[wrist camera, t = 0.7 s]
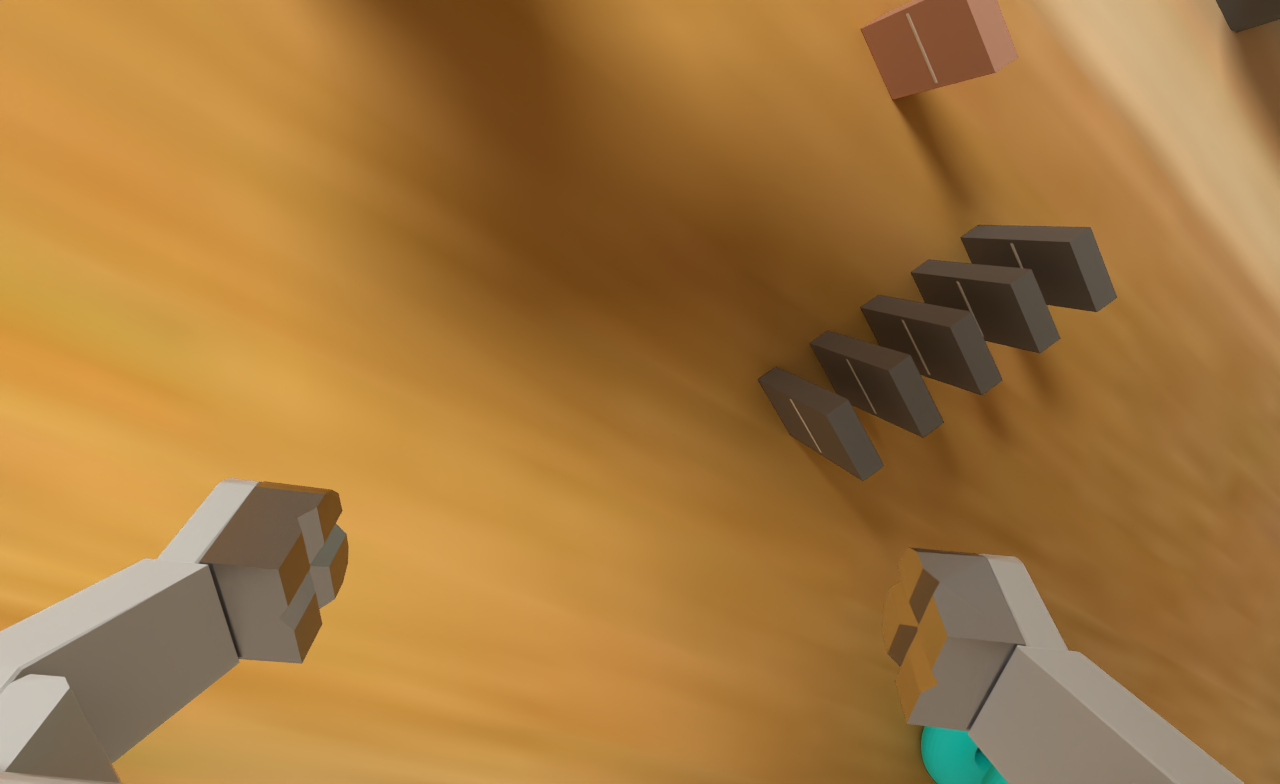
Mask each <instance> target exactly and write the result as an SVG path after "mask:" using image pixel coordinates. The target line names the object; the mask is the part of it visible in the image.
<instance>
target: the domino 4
mask: <svg viewBox="0 0 1280 784" xmlns="http://www.w3.org/2000/svg"><path fill="white" fill-rule="evenodd" d="M911 274H912V276H913V278H914V280H915V282H916V284H917V286H918V288H919V290H920V292H921V295H922V297H923V299H924V301H925V303H926V304H932V305H937V306H943V307H948V308H954V309H959V310H965V311H970V312H972V314H973V316H974V318H975V321H976V323H977V325H978V327H979V329H980V332H981V334H982V336H983V338H984V340H985V341H989V342H993V343H998V344H1002V345H1006V346H1011V347H1015V348H1019V349H1024V350H1028V351H1032V352H1037V353H1041V352H1042V351H1044V350H1045V349H1047V348H1048V347H1049V346H1051V345H1052V344H1053V343H1055V342H1056V341H1058V340H1059V339H1060V336H1059V334H1058V332H1057V329H1056V327H1055V324H1054V322H1053V320H1052V317H1051V315H1050V312H1049V310H1048V308H1047V305H1046V303H1045V300H1044V298H1043V296H1042V293H1041V291H1040V288H1039V286H1038V283H1037V281H1036V279H1035V276H1034V274H1033V271H1032V269H1025V268H1014V267H1003V266H992V265H981V264H970V263H959V262H948V261H937V260H928V261H926V262H925V263H923V264H922V265H920V266H919V267H918V268H916V269H915V270H913V271H912V272H911Z"/></svg>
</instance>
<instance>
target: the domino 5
mask: <svg viewBox="0 0 1280 784" xmlns="http://www.w3.org/2000/svg"><path fill="white" fill-rule="evenodd" d="M860 308H861V310H862V311H863V313H864V315H865V317H866V319H867V321H868V323H869V325H870V327H871V329H872V331H873V333H874V335H875V337H876V339H877V341H878V343H879V345H880V346H882V347H885V348H888V349H892V350H895V351H899V352H902V353H905V354H909V355H911V357H912V359H913V361H914V363H915V365H916V367H917V369H918V371H919V373H920V375H923V376H926V377H929V378H932V379H935V380H938V381H941V382H944V383H947V384H950V385H953V386H956V387H959V388H962V389H965V390H968V391H971V392H974V393H977V394H980V395H983V394H984V393H986V392H987V391H988V390H990V389H991V388H993V387H994V386H995V385H997V384H998V383H999V382H1001V381H1002V378H1001V375H1000V373H999V371H998V369H997V367H996V364H995V362H994V360H993V358H992V356H991V353H990V351H989V349H988V347H987V345H986V342H985V340H984V338H983V336H982V334H981V332H980V329H979V327H978V325H977V323H976V321H975V318H974V316H973V314H972V312H970V311H965V310H959V309H954V308H948V307H943V306H937V305H932V304H926V303H921V302H915V301H909V300H904V299H898V298H893V297H887V296H882V295H878V296H876V297H875V298H873V299H872V300H870V301H869V302H868V303H866V304H865V305H863V306H862V307H860Z"/></svg>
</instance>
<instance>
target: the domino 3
mask: <svg viewBox="0 0 1280 784" xmlns="http://www.w3.org/2000/svg"><path fill="white" fill-rule="evenodd" d="M861 31H862V33H863V35H864V38H865V40H866V42H867V44H868V46H869V49H870V51H871V53H872V55H873V58H874V60H875V62H876V64H877V67H878V69H879V71H880V73H881V75H882V78H883V80H884V82H885V84H886V87H887V89H888V91H889V93H890V96H891V98H892V100H893V99H897V98H901V97H905V96H908V95H912V94H916V93H920V92H924V91H928V90H931V89H935V88H939V87H943V86H947V85H950V84H954V83H958V82H962V81H966V80H969V79H973V78H977V77H981V76H985V75H989V74H992V73H996V72H997V71H999V70H1000V69H1002V68H1003V67H1004V66H1006V65H1007V64H1009V63H1010V62H1012V61H1013V60H1015V59H1016V58H1018V55H1017V52H1016V50H1015V47H1014V44H1013V42H1012V39H1011V37H1010V34H1009V31H1008V29H1007V26H1006V23H1005V21H1004V18H1003V16H1002V13H1001V10H1000V8H999V5H998V3H997V0H914V1H911V2H909V3H907V4H905V5H903V6H901V7H899V8H896V9H894V10H892V11H890V12H888V13H886V14H883V15H881V16H879V17H878V18H876V19H875V20H873V21H872V22H870V23H869V24H867V25H866V26H864V27H863V28H861Z"/></svg>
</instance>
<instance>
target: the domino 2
mask: <svg viewBox="0 0 1280 784" xmlns="http://www.w3.org/2000/svg"><path fill="white" fill-rule="evenodd" d="M810 345H811V347H812V349H813V351H814V353H815V354H816V356H817V358H818V360H819V362H820V363H821V365H822V367H823V369H824V371H825V373H826V374H827V376H828V378H829V380H830V382H831V383H832V385H833V387H834V389H835V391H836V393H837V394H838V395H840V396H842V397H844V398H846V399H848V400H849V402H850V404H851V405H853V406H856V407H858V408H860V409H862V410H864V411H866V412H869V413H871V414H873V415H875V416H877V417H879V418H881V419H884V420H886V421H888V422H890V423H892V424H894V425H897V426H899V427H901V428H903V429H905V430H907V431H910V432H912V433H914V434H916V435H918V436H920V437H925V436H926V435H927V434H929V433H930V432H932V431H933V430H934V429H936V428H937V427H938V426H940V425H941V424H943V423H944V421H943V419H942V417H941V415H940V413H939V411H938V409H937V407H936V405H935V403H934V401H933V399H932V397H931V395H930V393H929V391H928V389H927V387H926V385H925V383H924V381H923V379H922V377H921V375H920V373H919V371H918V369H917V367H916V365H915V363H914V361H913V359H912V357H911V355H909V354H905V353H902V352H899V351H895V350H892V349H888V348H885V347H882V346H878V345H875V344H872V343H868V342H865V341H861V340H858V339H855V338H851V337H848V336H845V335H841V334H838V333H835V332H831V331H826V332H825V333H823V334H822V335H820V336H819V337H818V338H816V339H815V340H813V341H812V342H810Z"/></svg>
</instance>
